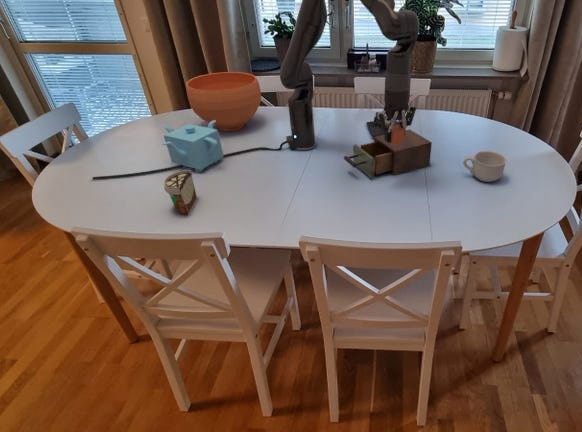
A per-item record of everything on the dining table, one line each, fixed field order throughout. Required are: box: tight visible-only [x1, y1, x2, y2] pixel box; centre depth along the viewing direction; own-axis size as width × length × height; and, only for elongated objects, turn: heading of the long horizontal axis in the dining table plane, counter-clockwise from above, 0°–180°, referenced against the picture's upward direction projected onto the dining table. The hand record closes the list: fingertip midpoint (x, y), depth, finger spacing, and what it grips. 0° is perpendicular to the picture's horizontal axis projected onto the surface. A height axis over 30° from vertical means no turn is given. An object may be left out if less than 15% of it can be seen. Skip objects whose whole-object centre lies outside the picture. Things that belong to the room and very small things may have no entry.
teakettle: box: [161, 120, 225, 173], centre depth 143 cm, size 19×19×15 cm
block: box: [390, 125, 405, 145], centre depth 124 cm, size 4×4×4 cm
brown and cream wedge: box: [163, 169, 198, 216], centre depth 120 cm, size 12×6×10 cm, turn 5°
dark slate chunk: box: [365, 115, 399, 138], centre depth 172 cm, size 15×22×5 cm
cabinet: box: [373, 129, 433, 176], centre depth 145 cm, size 16×14×9 cm
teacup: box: [462, 150, 507, 183], centre depth 136 cm, size 14×11×8 cm
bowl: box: [185, 71, 262, 132], centre depth 173 cm, size 30×30×20 cm
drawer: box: [343, 141, 393, 179], centre depth 141 cm, size 20×13×7 cm, turn 119°
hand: (394, 140), depth 125 cm, fingers closed on block, 4 cm apart
